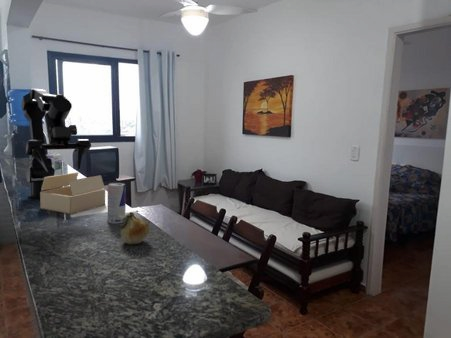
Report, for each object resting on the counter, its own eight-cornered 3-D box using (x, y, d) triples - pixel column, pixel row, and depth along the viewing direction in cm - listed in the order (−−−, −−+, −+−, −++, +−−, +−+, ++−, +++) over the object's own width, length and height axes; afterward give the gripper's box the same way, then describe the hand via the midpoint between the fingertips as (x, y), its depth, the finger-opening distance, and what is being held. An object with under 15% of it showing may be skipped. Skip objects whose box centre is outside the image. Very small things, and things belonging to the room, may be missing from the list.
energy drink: (128, 220, 107) (129, 183, 105) (118, 224, 102) (118, 186, 100) (114, 218, 108) (115, 182, 107) (103, 222, 103) (103, 184, 102)
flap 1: (41, 190, 114) (41, 190, 114) (75, 184, 128) (74, 183, 128) (45, 177, 113) (44, 177, 113) (78, 172, 127) (78, 172, 127)
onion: (121, 249, 82) (121, 218, 81) (117, 239, 90) (118, 210, 89) (151, 246, 86) (152, 216, 84) (146, 236, 93) (146, 208, 92)
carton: (39, 209, 114) (39, 191, 114) (76, 199, 130) (76, 184, 129) (71, 214, 110) (71, 197, 109) (105, 204, 125) (105, 188, 124)
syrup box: (54, 186, 152) (54, 155, 150) (43, 185, 153) (42, 154, 151) (63, 184, 158) (62, 154, 156) (52, 183, 159) (51, 153, 157)
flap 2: (68, 180, 110) (69, 180, 109) (100, 175, 124) (100, 175, 123) (72, 195, 110) (73, 195, 109) (104, 188, 124) (104, 188, 123)
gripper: (26, 114, 100) (34, 161, 95) (90, 116, 111) (100, 158, 107) (22, 132, 108) (29, 176, 103) (82, 132, 119) (91, 172, 115)
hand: (63, 170), depth 107 cm, fingers open, 9 cm apart
